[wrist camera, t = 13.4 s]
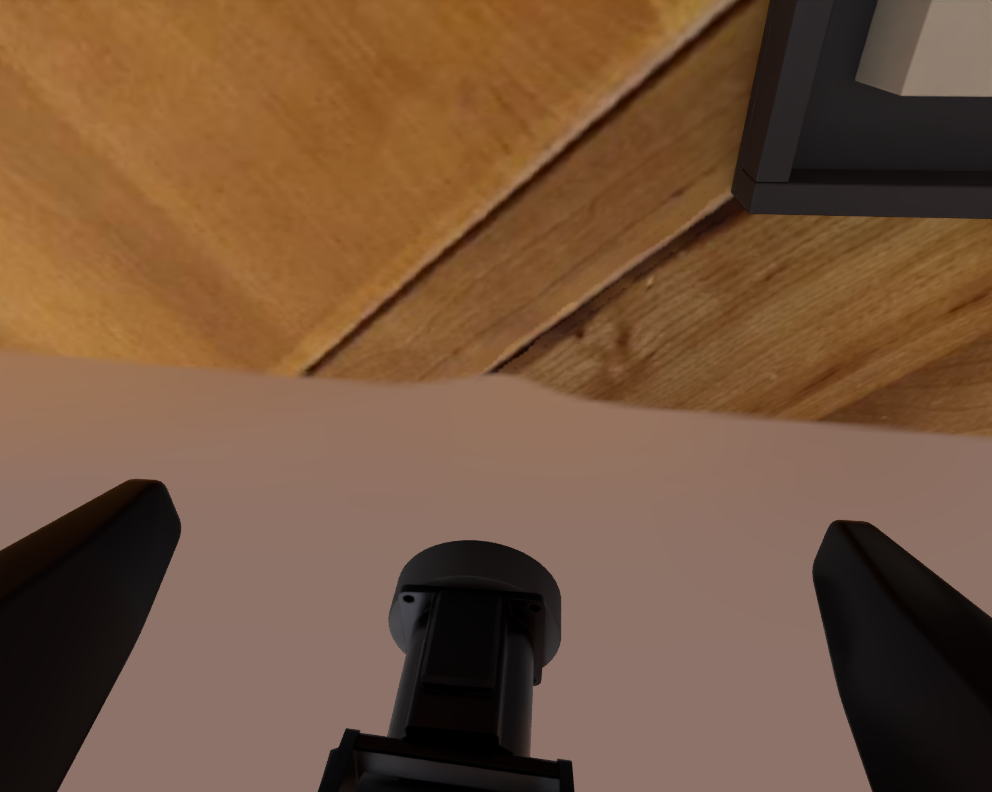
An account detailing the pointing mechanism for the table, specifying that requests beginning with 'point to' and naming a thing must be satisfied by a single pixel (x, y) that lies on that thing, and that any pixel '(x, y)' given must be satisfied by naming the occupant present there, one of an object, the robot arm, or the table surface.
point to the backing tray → (853, 129)
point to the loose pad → (929, 48)
